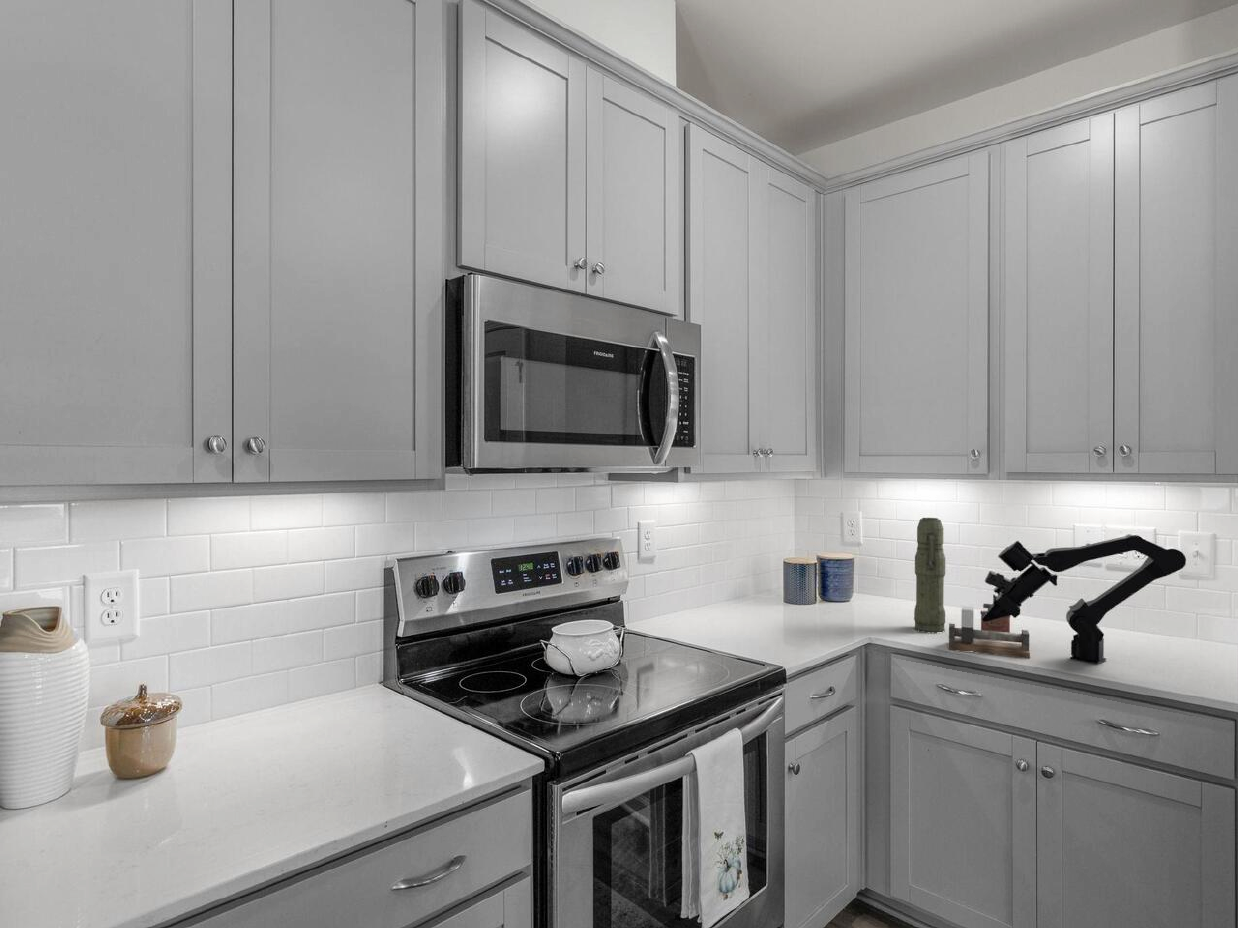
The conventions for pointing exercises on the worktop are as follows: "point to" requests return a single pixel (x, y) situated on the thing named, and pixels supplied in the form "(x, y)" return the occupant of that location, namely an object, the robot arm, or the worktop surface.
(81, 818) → the worktop surface
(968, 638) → the white slider block
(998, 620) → the lighter
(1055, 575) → the robot arm
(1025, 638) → the pipe stand
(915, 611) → the thermos
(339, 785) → the worktop surface
